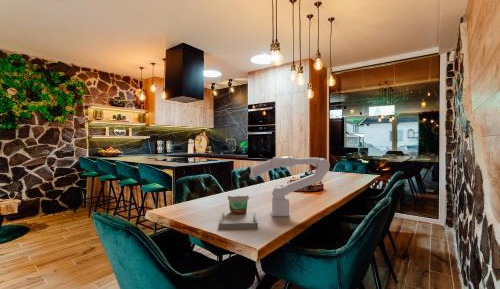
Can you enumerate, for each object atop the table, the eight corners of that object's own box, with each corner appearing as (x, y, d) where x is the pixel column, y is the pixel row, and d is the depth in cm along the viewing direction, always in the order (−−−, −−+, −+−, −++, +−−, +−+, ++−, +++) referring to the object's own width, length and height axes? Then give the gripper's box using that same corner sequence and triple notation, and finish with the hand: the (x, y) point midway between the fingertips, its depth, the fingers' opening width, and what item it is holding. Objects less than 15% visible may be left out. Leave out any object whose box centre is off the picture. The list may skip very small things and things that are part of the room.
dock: (255, 217, 137) (255, 212, 137) (257, 228, 120) (257, 223, 120) (222, 217, 137) (222, 213, 136) (219, 229, 120) (219, 223, 119)
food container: (228, 216, 140) (228, 197, 139) (227, 212, 146) (227, 195, 145) (250, 214, 142) (250, 196, 142) (248, 211, 148) (248, 194, 148)
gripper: (258, 159, 150) (238, 167, 152) (257, 166, 136) (234, 176, 138) (263, 169, 151) (243, 178, 153) (263, 177, 137) (240, 187, 139)
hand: (239, 178), depth 146 cm, fingers open, 7 cm apart
